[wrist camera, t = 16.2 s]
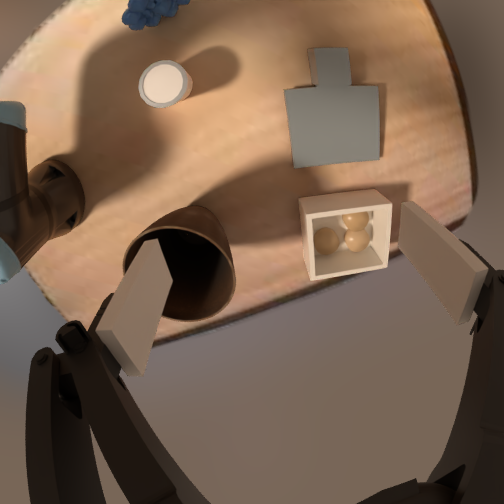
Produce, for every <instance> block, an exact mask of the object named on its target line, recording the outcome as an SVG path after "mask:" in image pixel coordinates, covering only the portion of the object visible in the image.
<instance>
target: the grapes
mask: <svg viewBox="0 0 504 504" xmlns="http://www.w3.org/2000/svg"><path fill="white" fill-rule="evenodd" d="M189 2H190V0H129V3H128V9H126V11H125V12H124V14H123V16H122V22H123V23H124V24H125V25H129V28H130V29H132V30H142V29H143V28H144V26H145V25H146V26H149V27H153V26H157V25H158V23H159V22H160V19H161V15H162V16H164V17H173V16H175V14H176V12H177V10H178V5H185V4H188V3H189Z"/></svg>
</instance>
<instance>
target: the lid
mask: <svg viewBox="0 0 504 504" xmlns="http://www.w3.org/2000/svg"><path fill="white" fill-rule="evenodd" d="M307 50H308V57H309V64H310V71H311V79H312V84H314V85H315V86H316V87H304V88H293V89H283V90H284V96H285V104H286V111H287V118H288V126H289V134H290V142H291V150H292V159H293V167H294V169H295V168H303V167H311V166H320V165H329V164H338V163H349V162H360V161H373V160H379V153H380V119H379V92H378V86H375V85H352V81H351V70H350V61H349V53H348V48H311V49H307Z"/></svg>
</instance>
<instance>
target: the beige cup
mask: <svg viewBox="0 0 504 504" xmlns="http://www.w3.org/2000/svg"><path fill="white" fill-rule="evenodd" d="M192 86H193V82H192V78H191V76H190V75H189V74H188V73H187V72H186V71H185V69H184V68H183V67H182V66H181V65H180V64H178V63H176V62H174V61H171V60H160V61H158V62H155V63H153V64H151V65H150V66H149V67H148V68H146V69H145V70H144V72H143V74H142V75H141V77H140V79H139V88H138V89H139V92H140V96H141V98H142V99H143V100H144V101H145V102H146V104H148V105H150V106H153V107H155V108H165V107H168V106H171V105H174V104H176V103H178V102H180V101H182V100H184V99H185V98H186V97H188V96H189V94H190V92H191V90H192Z"/></svg>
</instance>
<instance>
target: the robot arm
mask: <svg viewBox="0 0 504 504" xmlns="http://www.w3.org/2000/svg"><path fill="white" fill-rule="evenodd" d="M26 133H27V128H26V109H25V106H24V105H23V104H22V103H20V102H17V101H0V284H4V283H7V282H8V281H9V280H10V279H11V278H12V277H13V276H14V275H15V274H17V273H19V272H20V270H21V269H22V267H23V266H24V265H25V264H26V263H27V262H28V261H29V260H30V259H31V258H32V257H33V255H34V254H35V253H36V252H37V251H38V250H39V249H40V248H41V247H42V246H43V245H44V244H45V243H46V242H47V241H48V240H51V239H54V238H57V237H60V236H63V235H65V234H67V233H69V232H70V231H71V230H72V229H74V228H75V227H76V226H77V225H78V223H79V222H80V220H81V218H82V216H83V212H84V205H85V201H84V193H83V189H82V186H81V183H80V181H79V179H78V177H77V176H76V174H75V173H74V172H73V171H72V169H71V168H69V167H68V166H67V165H66V164H64V163H62V162H60V161H56V160H48V161H45V162H43V163H41V164H38V165H37V166H35V167H34V168H33V169H32V170H31V171H30V172H29V173H28V172H27V153H26ZM398 247H399V249H400V250H401V251H402V252H403V253H404V255H405V256H406V257H407V258H408V260H409V261H410V262H411V263H412V265H413V266H414V267H415V268H416V270H417V271H418V272H419V274H420V275H421V276H422V277H423V279H424V280H425V281H426V283H427V284H428V285H429V287H430V288H431V289H432V291H433V292H434V293H435V295H436V296H437V297H438V299H439V300H440V302H441V303H442V304H443V306H444V307H445V309H446V310H447V312H448V313H449V315H450V316H451V318H452V319H453V320H454V322H455V323H456V325H460V324H462V323H465V322H468V321H469V320H470V318H471V315H472V313H473V311H475V313H476V314H477V315H478V316H477V318H476V321H475V323H474V325H473V327H472V329H471V331H470V335H472V333H473V331H474V335H473V342H472V350H471V355H470V361H469V367H468V372H467V376H466V381H465V386H464V389H463V394H462V398H461V402H460V405H459V409H458V412H457V415H456V419H455V422H454V425H453V428H452V431H451V434H450V437H449V440H448V443H447V445H446V448H445V451H444V453H443V455H442V458H441V460H440V461H439V463H438V464H437V466H436V467H435V468H434V470H433V471H432V473H431V475H430V476H429V478H428V480H427V482H420V483H417V480H416V478H415V479H413V480H410V481H408V482H405V483H402V484H399V485H396V486H394V487H391V488H387V489H384V490H382V491H380V492H378V493H376V494H374V495H373V496H371V497H369V498H367V499H365V500H363V501H361V502H359V503H357V504H504V270H497V271H496V270H495V269H494V268H493V267H492V266H491V265H489V263H488V262H487V261H486V260H485V259H484V258H483V257H482V256H480V255H479V254H478V253H477V252H476V251H475V250H474V249H473V248H472V247H471V246H470V245H469V244H467V243H466V242H464V241H462V240H460V239H457V238H456V237H455V236H454V235H453V234H452V233H451V232H450V231H448V230H447V229H446V228H445V227H444V226H443V225H442V224H440V223H439V222H438V221H437V220H436V219H434V218H433V217H432V216H431V215H430V214H428V213H427V212H426V211H425V210H423V209H422V208H421V207H420V206H418V205H417V204H416V203H415V202H413V201H409V202H401V217H400V229H399V239H398ZM172 282H173V280H172V277H171V275H170V272H169V270H168V267H167V264H166V261H165V259H164V256H163V253H162V250H161V248H160V245H159V242H158V239H153V240H148V241H144V243H143V245H142V246H141V248H140V250H139V251H138V253H137V255H136V256H135V258H134V260H133V261H132V263H131V265H130V266H129V268H128V270H127V272H126V273H125V275H124V277H123V279H122V281H121V282H120V284H119V286H118V288H117V290H116V291H115V293H111V294H110V295H109V296H108V297H107V298H106V299H105V300H104V301H103V303H102V305H101V306H100V310H98V312H97V314H96V316H95V318H94V320H93V321H92V323H91V325H90V327H89V329H88V331H86V329H85V328H84V326H83V325H82V323H81V322H80V321H77V320H74V321H70V322H68V323H66V324H65V325H63V326H62V327H61V328H60V329H59V330H58V332H57V334H56V339H55V340H56V341H57V343H58V344H59V345H60V347H61V348H62V349H63V351H64V353H61V354H57V355H56V354H55V353H54V352H53V351H52V349H51V348H48V347H45V348H42V349H40V350H39V351H37V352H36V353H35V355H34V357H33V358H32V361H31V366H30V374H29V383H28V392H27V405H26V433H25V434H26V436H25V437H26V439H25V440H26V467H27V478H28V487H29V495H30V502H31V504H106V501H105V497H104V494H103V490H102V486H101V483H100V478H99V474H98V470H97V465H96V461H95V455H94V450H93V445H92V439H91V433H90V426H91V429H92V431H93V434H94V436H95V438H96V441H97V443H98V445H99V447H100V449H101V452H102V453H103V456H104V458H105V460H106V462H107V464H108V466H109V468H110V470H111V472H112V474H113V475H114V477H115V479H116V481H117V483H118V484H119V486H120V488H121V490H122V491H123V493H124V495H125V496H126V498H127V500H128V501H129V503H130V504H211V503H210V502H209V501H207V499H206V498H205V497H204V496H203V495H202V494H201V493H200V492H199V491H198V489H197V488H196V487H195V486H194V485H193V483H192V482H191V481H190V480H189V479H188V477H187V476H186V475H185V474H184V472H183V471H182V470H181V469H180V467H179V466H178V465H177V463H176V462H175V461H174V459H173V458H172V457H171V456H170V454H169V453H168V451H167V450H166V449H165V447H164V446H163V444H162V443H161V442H160V440H159V439H158V437H157V436H156V434H155V433H154V431H153V430H152V428H151V427H150V425H149V424H148V422H147V421H146V419H145V417H144V416H143V414H142V413H141V411H140V409H139V408H138V406H137V404H136V403H135V401H134V399H133V397H132V396H131V394H130V392H129V390H128V389H127V387H126V385H125V383H124V382H123V380H122V378H121V377H120V376H119V373H120V370H121V368H122V369H123V371H124V372H125V373H126V374H127V376H143V375H144V372H145V368H146V365H147V361H148V357H149V354H150V351H151V347H152V344H153V341H154V337H155V334H156V331H157V327H158V324H159V321H160V318H161V315H162V312H163V309H164V305H165V302H166V299H167V296H168V293H169V290H170V287H171V284H172ZM89 424H90V425H89Z"/></svg>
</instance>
